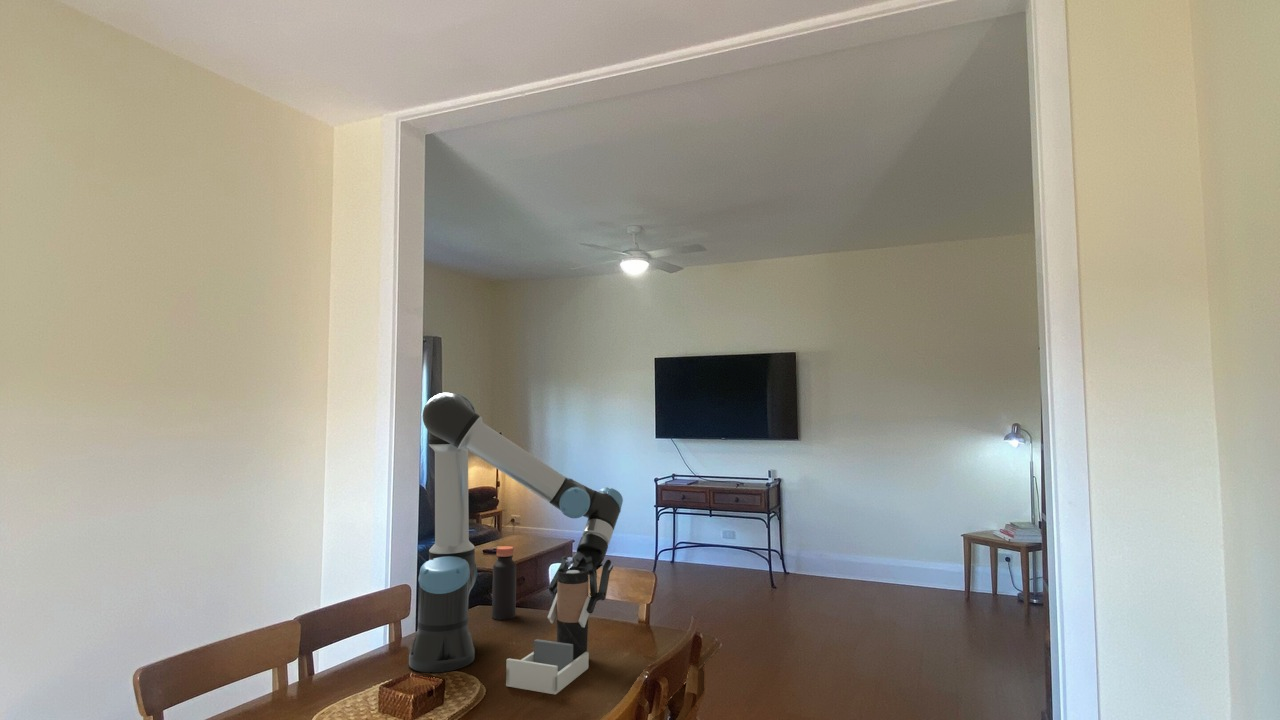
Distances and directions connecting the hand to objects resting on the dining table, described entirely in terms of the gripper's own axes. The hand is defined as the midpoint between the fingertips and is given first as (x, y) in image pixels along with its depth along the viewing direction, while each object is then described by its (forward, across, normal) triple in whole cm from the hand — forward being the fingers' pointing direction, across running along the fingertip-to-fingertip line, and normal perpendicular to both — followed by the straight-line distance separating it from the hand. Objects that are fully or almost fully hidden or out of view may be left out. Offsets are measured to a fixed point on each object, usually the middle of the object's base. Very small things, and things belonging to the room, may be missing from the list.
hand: (565, 622), depth 156 cm
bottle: (-12, +35, -27) cm, 46 cm away
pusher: (+11, 0, -3) cm, 11 cm away
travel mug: (+4, 0, -9) cm, 9 cm away
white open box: (+12, 0, -2) cm, 12 cm away
